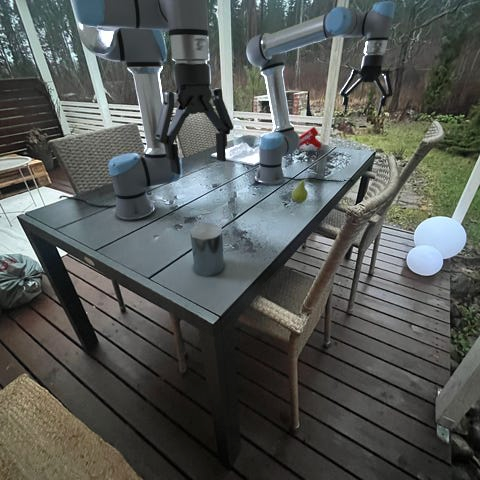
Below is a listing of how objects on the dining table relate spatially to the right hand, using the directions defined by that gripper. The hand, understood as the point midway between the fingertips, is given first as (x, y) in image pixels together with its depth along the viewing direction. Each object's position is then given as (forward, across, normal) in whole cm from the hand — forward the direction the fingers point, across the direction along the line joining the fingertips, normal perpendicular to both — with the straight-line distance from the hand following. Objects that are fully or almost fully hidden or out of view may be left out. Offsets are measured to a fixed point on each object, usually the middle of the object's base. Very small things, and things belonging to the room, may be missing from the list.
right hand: (361, 114), depth 116 cm
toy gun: (+34, -21, +74) cm, 84 cm away
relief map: (+34, -62, +45) cm, 84 cm away
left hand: (+3, -46, -74) cm, 87 cm away
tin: (+34, -46, -74) cm, 94 cm away
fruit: (+34, -21, -21) cm, 45 cm away
